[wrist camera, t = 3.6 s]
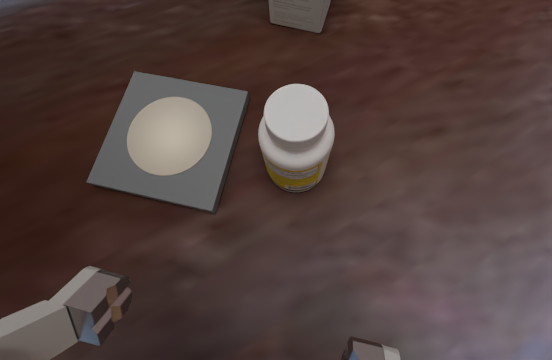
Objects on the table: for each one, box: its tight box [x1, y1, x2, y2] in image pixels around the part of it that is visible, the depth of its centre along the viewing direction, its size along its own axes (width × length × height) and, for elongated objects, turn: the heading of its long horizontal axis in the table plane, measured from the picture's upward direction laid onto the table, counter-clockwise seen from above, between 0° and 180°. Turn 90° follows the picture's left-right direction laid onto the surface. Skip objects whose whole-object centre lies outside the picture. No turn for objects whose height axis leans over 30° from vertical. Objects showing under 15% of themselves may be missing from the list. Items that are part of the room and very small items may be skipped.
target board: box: [87, 71, 250, 214], centre depth 28 cm, size 12×12×1 cm
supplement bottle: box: [258, 84, 334, 192], centre depth 22 cm, size 5×5×10 cm
